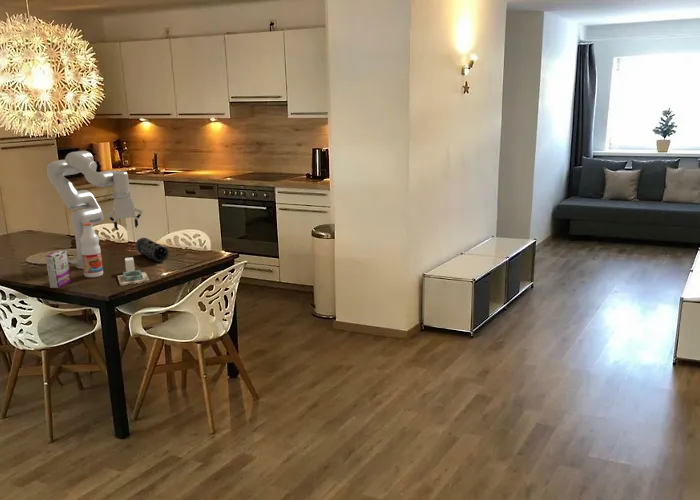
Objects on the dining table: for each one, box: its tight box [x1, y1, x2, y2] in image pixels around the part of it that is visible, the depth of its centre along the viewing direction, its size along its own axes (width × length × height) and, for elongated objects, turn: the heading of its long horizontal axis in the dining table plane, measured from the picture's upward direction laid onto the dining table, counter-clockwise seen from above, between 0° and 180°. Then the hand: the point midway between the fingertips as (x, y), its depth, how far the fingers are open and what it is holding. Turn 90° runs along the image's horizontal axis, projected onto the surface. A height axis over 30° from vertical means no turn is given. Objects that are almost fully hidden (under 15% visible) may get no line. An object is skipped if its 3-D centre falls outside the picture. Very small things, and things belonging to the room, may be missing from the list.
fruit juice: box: [80, 222, 104, 278], centre depth 332 cm, size 9×9×28 cm
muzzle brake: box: [134, 237, 170, 264], centre depth 365 cm, size 10×28×10 cm, turn 39°
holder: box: [116, 269, 150, 287], centre depth 325 cm, size 14×16×3 cm
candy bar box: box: [45, 250, 72, 289], centre depth 317 cm, size 11×5×16 cm, turn 170°
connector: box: [124, 256, 136, 272], centre depth 337 cm, size 4×6×8 cm, turn 24°
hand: (126, 228), depth 333 cm, fingers open, 9 cm apart
